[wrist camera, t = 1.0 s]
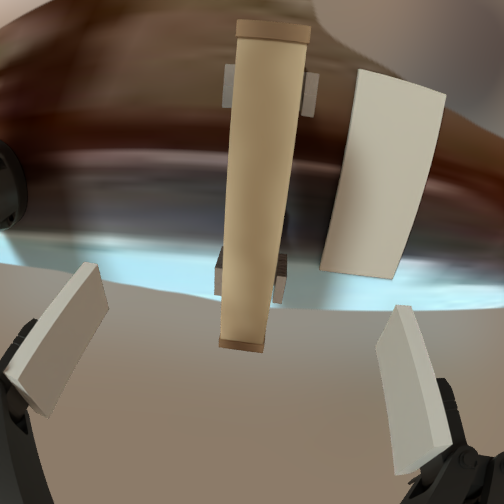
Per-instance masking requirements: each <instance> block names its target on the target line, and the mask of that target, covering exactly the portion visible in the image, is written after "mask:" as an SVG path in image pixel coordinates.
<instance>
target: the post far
mask: <svg viewBox="0 0 504 504" xmlns="http://www.w3.org/2000/svg"><path fill="white" fill-rule="evenodd" d="M223 248H224V246H222V248H221V251H220V254H219V257H218V260H217V263H216V266H215V290H214V295H219V296H222V272H223ZM286 278H287V255H286V254H279V253H278V259H277V265H276V271H275V278H274V284H273V286H274V290H273V303H279V304H282V299H283V294H284V289H285V284H286Z"/></svg>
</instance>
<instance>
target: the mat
mask: <svg viewBox="0 0 504 504" xmlns="http://www.w3.org/2000/svg"><path fill="white" fill-rule="evenodd" d="M445 99H446V95H445V94H442V93H440V92H437V91H434V90H431V89H428V88H425V87H422V86H419V85H416V84H413V83H410V82H407V81H404V80H400V79H397V78H393V77H390V76H386V75H382V74H378V73H375V72H371V71H366V70H362V69H358V75H357V82H356V89H355V95H354V102H353V108H352V114H351V120H350V126H349V132H348V137H347V143H346V148H345V153H344V159H343V164H342V169H341V174H340V179H339V184H338V188H337V193H336V198H335V202H334V207H333V211H332V216H331V220H330V225H329V229H328V233H327V238H326V242H325V246H324V250H323V254H322V258H321V262H320V266H319V270H321V271H329V272H338V273H346V274H354V275H362V276H371V277H379V278H387V279H392V278H393V276H394V273H395V271H396V268H397V266H398V263H399V261H400V258H401V255H402V253H403V250H404V247H405V245H406V242H407V239H408V236H409V234H410V231H411V228H412V225H413V222H414V219H415V216H416V213H417V210H418V207H419V204H420V200H421V197H422V194H423V191H424V187H425V184H426V180H427V177H428V173H429V170H430V166H431V162H432V158H433V154H434V151H435V146H436V142H437V138H438V134H439V129H440V125H441V120H442V115H443V110H444V105H445Z"/></svg>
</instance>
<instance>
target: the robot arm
mask: <svg viewBox="0 0 504 504" xmlns="http://www.w3.org/2000/svg"><path fill="white" fill-rule="evenodd" d="M26 206H27V186H26V181H25V176H24V173H23V170H22V167H21V165H20V163H19V161H18V159H17V157H16V155H15V154H14V152H13V151H12V150H11V148H10V147H9V146H8V145H7V144H6V143H4V142H3V141H1V140H0V231H3V230H6V229H8V228H10V227H12V226H13V225H14V224H15V223H17V222H18V221H19V220H20V219H21V218H22V216H23V215H24V213H25V210H26ZM108 310H109V307H108V303H107V300H106V296H105V292H104V288H103V284H102V280H101V276H100V272H99V267H98V264H94V263H88V262H84V263H83V264H82V265H81V266H80V267H79V269H78V270H77V271H76V272H75V274H74V275H73V276H72V277H71V278H70V280H69V281H68V282H67V283H66V285H65V286H64V287H63V289H62V290H61V291H60V292H59V294H58V295H57V296H56V298H55V299H54V300H53V301H52V303H51V304H50V305H49V307H48V308H47V309H46V311H45V312H44V314H43V315H42V316H41V317H40V319H39V320H37V319H32V320H31V321H30V322H28V323H27V324H26V325H25V326H24V327H23V328H22V329H21V331H20V332H19V334H18V336H17V337H16V338H15V339H14V341H13V344H11V345H10V347H9V348H8V349H7V351H6V352H5V354H4V356H3V357H2V358H1V360H0V504H54V502H53V499H52V497H51V494H50V491H49V488H48V485H47V482H46V479H45V476H44V473H43V470H42V466H41V463H40V459H39V456H38V453H37V448H36V444H35V440H34V437H33V432H32V427H31V423H30V418H29V414H28V411H27V410H26V409H27V407H28V405H29V406H30V407H31V408H32V409H33V410H34V411H35V412H36V413H38V414H40V415H42V416H44V417H46V418H48V419H49V418H50V416H51V414H52V412H53V410H54V408H55V406H56V404H57V402H58V399H59V398H60V395H61V394H62V392H63V390H64V388H65V386H66V384H67V382H68V380H69V378H70V376H71V374H72V373H73V371H74V369H75V367H76V365H77V364H78V362H79V360H80V358H81V356H82V354H83V353H84V351H85V349H86V347H87V346H88V344H89V342H90V340H91V339H92V337H93V335H94V333H95V332H96V330H97V328H98V327H99V325H100V323H101V322H102V320H103V318H104V316H105V315H106V313H107V311H108ZM375 349H376V354H377V359H378V364H379V368H380V374H381V379H382V385H383V391H384V396H385V402H386V408H387V415H388V421H389V429H390V436H391V444H392V452H393V461H394V470H395V475H402V474H409V473H413V472H414V471H416V470H418V469H419V468H420V470H421V474H420V475H418V476H417V477H415V478H413V479H412V480H411V481H410V482H409V483H408V484H409V485H410V484H412V483H414V484H413V485H412V487H411V488H410V490H409V491H408V493H407V494H406V496H405V497H404V499H403V500H402V502H401V503H400V504H504V452H502V453H500V454H498V455H497V456H496V457H489V456H483V455H478V453H477V451H476V450H475V449H474V448H473V447H471V446H468V445H467V442H466V439H465V435H464V430H463V427H462V422H461V419H460V415H459V411H458V410H457V404H456V401H455V397H454V394H453V391H452V388H451V386H450V385H449V383H448V382H447V381H446V379H445V378H436V377H435V374H434V371H433V367H432V364H431V362H430V358H429V355H428V352H427V349H426V346H425V344H424V340H423V337H422V334H421V332H420V329H419V326H418V324H417V321H416V318H415V315H414V313H413V310H412V307H411V306H405V305H396V306H395V308H394V310H393V312H392V314H391V316H390V318H389V320H388V322H387V324H386V327H385V329H384V330H383V333H382V334H381V336H380V338H379V340H378V342H377V344H376V346H375Z"/></svg>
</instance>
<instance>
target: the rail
mask: <svg viewBox="0 0 504 504" xmlns="http://www.w3.org/2000/svg"><path fill="white" fill-rule="evenodd" d="M310 32H311V26H305V25H298V24H290V23H281V22H271V21H259V20H241V19H237V27H236V37H238V41H237V52H236V63H235V75H234V87H233V99H232V113H231V126H230V141H229V156H228V172H227V189H226V207H225V226H224V248H223V272H222V300H221V333H220V338H219V347H222V348H228V349H236V350H243V351H250V352H258V353H263V349H264V342H265V332H266V325H267V319H268V313H269V308H270V302H271V296H272V290H273V284H274V278H275V271H276V265H277V259H278V253H279V247H280V240H281V234H282V227H283V221H284V214H285V207H286V201H287V194H288V187H289V180H290V173H291V166H292V159H293V152H294V145H295V137H296V130H297V122H298V114H299V107H300V99H301V91H302V83H303V74H304V66H305V57H306V49H307V45H308V44H309V41H310Z"/></svg>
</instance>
